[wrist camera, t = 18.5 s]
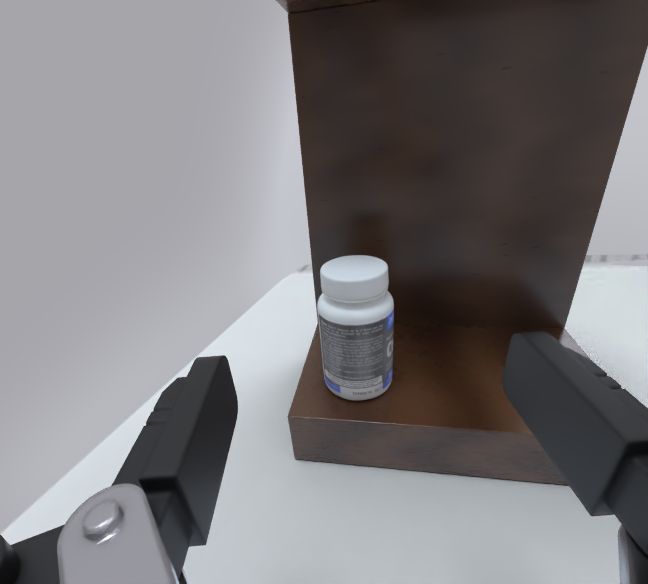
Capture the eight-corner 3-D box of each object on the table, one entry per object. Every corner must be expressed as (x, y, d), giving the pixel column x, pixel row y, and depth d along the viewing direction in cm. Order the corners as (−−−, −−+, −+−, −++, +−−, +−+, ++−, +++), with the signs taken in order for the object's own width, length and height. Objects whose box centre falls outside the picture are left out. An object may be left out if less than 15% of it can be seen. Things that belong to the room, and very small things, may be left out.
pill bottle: (403, 395, 22) (408, 276, 18) (331, 409, 21) (321, 289, 17) (379, 351, 26) (379, 248, 22) (318, 362, 25) (308, 257, 21)
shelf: (294, 459, 23) (193, -129, 10) (323, 350, 33) (289, -7, 21) (635, 492, 19) (1095, -337, 7) (547, 358, 30) (666, -64, 17)
